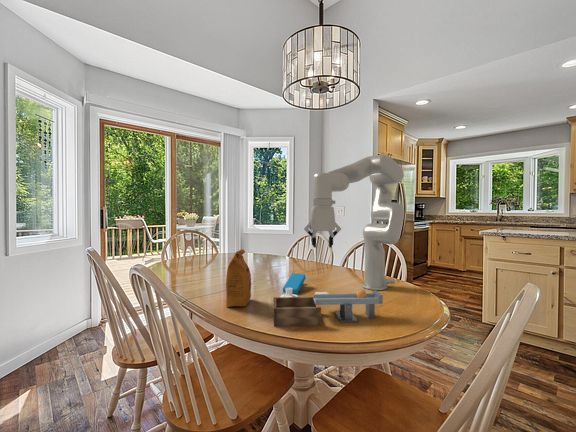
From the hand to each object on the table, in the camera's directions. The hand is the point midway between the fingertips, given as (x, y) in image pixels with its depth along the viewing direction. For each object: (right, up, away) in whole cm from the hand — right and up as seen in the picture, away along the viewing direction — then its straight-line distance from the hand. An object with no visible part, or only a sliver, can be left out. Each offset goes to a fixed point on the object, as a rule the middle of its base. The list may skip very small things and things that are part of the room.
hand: (322, 246), depth 119 cm
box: (-11, -24, -16) cm, 31 cm away
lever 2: (+7, -18, -11) cm, 22 cm away
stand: (+10, -24, -14) cm, 29 cm away
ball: (+13, -16, -14) cm, 25 cm away
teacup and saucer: (-17, -24, +8) cm, 30 cm away
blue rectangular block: (-10, -23, +22) cm, 34 cm away
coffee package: (-34, -24, +1) cm, 42 cm away
